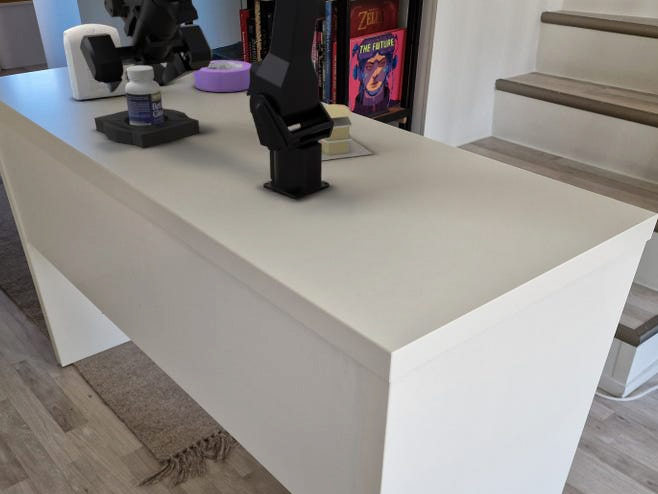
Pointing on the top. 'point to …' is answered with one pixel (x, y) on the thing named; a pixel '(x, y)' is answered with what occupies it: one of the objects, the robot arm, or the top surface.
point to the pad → (147, 128)
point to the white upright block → (77, 65)
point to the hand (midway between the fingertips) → (138, 85)
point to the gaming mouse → (155, 72)
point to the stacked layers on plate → (340, 135)
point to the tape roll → (223, 76)
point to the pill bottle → (143, 97)
